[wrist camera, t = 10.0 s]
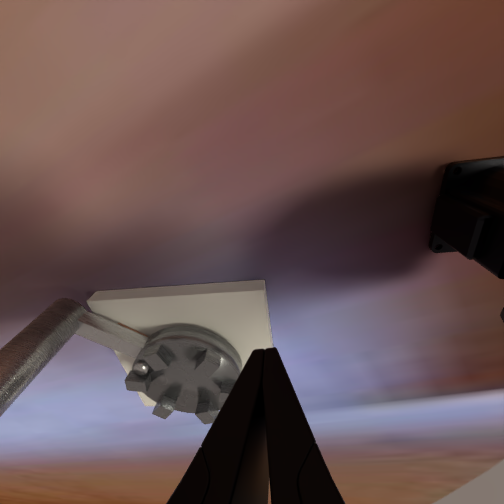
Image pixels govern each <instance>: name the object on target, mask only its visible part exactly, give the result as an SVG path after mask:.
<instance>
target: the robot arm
mask: <svg viewBox="0 0 504 504" xmlns="http://www.w3.org/2000/svg"><path fill="white" fill-rule="evenodd" d="M457 167H458V170H457V172H456V173H454V174H453V171H454V169H455V168H457ZM431 231H432V232H431V237H430V241H429V249H430V250H431V251H433V252H434V253H443V252H457V251H458V252H459V253H461V254H462V255H463V256H465V257H466V258H467V259H469V260H472V259H473V260H475V261H476V262H478V263H479V264H480V265H482V266H483V267H484V268H486V269H487V270H488V271H490V272H491V273H492V274H494V275H495V276H497V277H498V278H499V279H504V156H503V157H495V158H486V159H477V160H469V161H460V162H454V163H451V164H450V165H448V167H447V168H446V170H445V174H444V178H443V183H442V187H441V192H440V196H439V197H438V198H437V202H436V207H435V211H434V216H433V220H432V225H431ZM438 244H439V246H438V247H436V245H438ZM435 247H436V248H435ZM500 316H501V318H502V320H503V322H504V307H503V309H502V312H501V314H500ZM201 446H202V447H200V448H199V450H198V451H197V453H196V455H195V457H194V459H193V461H192V462H191V464H190V466H189V468H188V469H187V471H186V473H185V475H184V476H183V478H182V480H181V481H180V483H179V484H178V486H177V488H176V489H175V491H174V492H173V494H172V495H171V497H170V499H169V500H168V502H167V503H166V504H268V489H269V478H270V491H271V504H345V502H344V500H343V498H342V496H341V494H340V493H339V491H338V489H337V487H336V485H335V483H334V481H333V479H332V477H331V475H330V472H329V470H328V468H327V466H326V464H325V461H324V459H323V457H322V455H321V452H320V450H319V447H318V445H317V444H316V441H315V438H314V436H313V433H312V431H311V429H310V426H309V424H308V422H307V419H306V417H305V414H304V412H303V410H302V407H301V405H300V403H299V400H298V398H297V395H296V393H295V391H294V388H293V386H292V384H291V381H290V379H289V376H288V374H287V372H286V369H285V367H284V365H283V362H282V360H281V357H280V355H279V353H278V350H277V348H275V347H272V348H266V349H263V348H262V349H254V350H253V351H252V353H251V355H250V356H249V358H248V360H247V362H246V364H245V366H244V367H243V369H242V371H241V373H240V375H239V377H238V378H237V380H236V382H235V384H234V386H233V388H232V389H231V391H230V393H229V395H228V397H227V399H226V400H225V402H224V404H223V406H222V408H221V410H220V411H219V413H218V415H217V417H216V419H215V421H214V422H213V424H212V426H211V428H210V430H209V432H208V433H207V435H206V437H205V439H204V441H203V442H202V444H201Z"/></svg>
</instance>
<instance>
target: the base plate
mask: <svg viewBox="0 0 504 504" xmlns="http://www.w3.org/2000/svg"><path fill="white" fill-rule="evenodd" d="M86 302H87V304H88V305H89V307H90V309H91V311H92V312H93V314H95V315H97V316H100V317H102V318H104V319H107V320H109V321H111V322H114V323H116V324H118V325H120V326H123V327H125V328H127V329H130V330H132V331H134V332H137V333H139V334H141V335H143V336H146V337H148V338H149V336H151V335H152V334H153V333H155V332H157V331H159V330H161V329H164V328H168V327H174V326H190V327H196V328H201V329H205V330H208V331H210V332H213V333H215V334H217V335H219V336H221V337H222V338H224V339H225V340H226V341H228V342H229V343H230V344H231V345H232V346H233V347H234V348H235V349H236V350H237V352H238V354H239V355H240V358H241V360H242V369H243V367H244V366H245V364H246V362H247V360H248V358H249V356H250V355H251V353H252V351H253V350H254V349H262V348H263V349H266V348H272V347H273V340H272V333H271V325H270V318H269V310H268V302H267V295H266V287H265V280H251V281H236V282H221V283H207V284H192V285H178V286H163V287H149V288H134V289H120V290H105V291H96V292H95V293H94V294H93V295H92V296H91V297H90V298H89V299H88V300H87V301H86ZM114 352H115V353H116V355H117V357H118V359H119V360H120V362H121V364H122V366H123V368H124V369H125V371H126V373H127V375H128V374H129V372H130V370H131V371H132V366H133V363H134V361H135V358H133V357H130V356H128V355H125V354H123V353H121V352H118V351H116V350H114ZM138 394H139V396H140V398H141V400H142V401H143V403H144V405H145V406H155V405H156V402H155V401H153V400H152V399H150V398H149V397H147V396H146V395H145V394H144V393H143V392H138Z"/></svg>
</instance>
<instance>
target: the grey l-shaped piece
mask: <svg viewBox="0 0 504 504" xmlns="http://www.w3.org/2000/svg"><path fill="white" fill-rule="evenodd" d="M74 334H77V335H79V336H82V337H84V338H87V339H89V340H91V341H94V342H96V343H99V344H101V345H104V346H106V347H108V348H111V349H113V350H116V351H118V352H121V353H123V354H125V355H128V356H130V357H133V358H135V361H134V363H133V366H132V371H131V370H130V372H129V374H128V376H127V377H126V379H125V384H126V388H127V390H130V391H137V392H143V393H144V394H145V395H146V396H147V397H149V398H150V399H152V400H153V401H155V402H156V405H155V408H154V410H153V413H152V414H154V415H156V416H158V417H161V418H163V419H166V418H167V417H168V416H169V415H170V414H171V413H172V412H173V411H174V410H177V411H181V412H187V413H195V415H196V416H197V417H198V418H199V419H200V420H201V421H202V422H203V423H204V424H209V423H213V422H214V421H215V419H216V417H217V415H218V413H219V411H218V410H221V408H222V406H223V404H224V402H225V400H226V399H227V397H228V395H229V393H230V391H231V389H232V388H233V386H234V384H235V382H236V380H237V378H238V377H239V375H240V373H241V371H242V360H241V358H240V355H239V354H238V352H237V350H236V349H235V348H234V347H233V346H232V345H231V344H230V343H229V342H228V341H226V340H225V339H224V338H222V337H221V336H219V335H217V334H215V333H213V332H210V331H208V330H205V329H201V328H196V327H190V326H174V327H168V328H164V329H161V330H159V331H157V332H155V333H153V334H152V335H151V336H149V338H148V337H146V336H143V335H141V334H139V333H137V332H134V331H132V330H130V329H127V328H125V327H123V326H120V325H118V324H116V323H114V322H111V321H109V320H107V319H104V318H102V317H100V316H97V315H95V314H93V313H90V312H88V311H86V309H85V308H84V307H83V306H82V305H81V304H80V303H78V302H76V301H74V300H72V299H68V298H61V299H58V300H56V301H55V302H54V303H53V304H52V305H51V306H49V307H48V308H47V309H46V310H45V311H44V312H43V313H41V314H40V315H39V316H38V317H37V318H36V319H35V320H33V321H32V322H31V323H30V324H29V325H28V326H27V327H25V328H24V329H23V330H22V331H21V332H20V333H19V334H17V335H16V336H15V337H14V338H13V339H12V340H11V341H9V342H8V343H7V344H6V345H5V346H4V347H3V348H1V349H0V417H1V415H2V414H3V413H4V412H5V411H6V410H7V409H8V408H9V407H10V405H11V404H12V403H13V402H14V401H15V400H16V399H17V398H18V396H19V395H20V394H21V393H22V392H23V391H24V390H25V389H26V387H27V386H28V385H29V384H30V383H31V382H32V381H33V380H34V378H35V377H36V376H37V375H38V374H39V373H40V372H41V371H42V370H43V368H44V367H45V366H46V365H47V364H48V363H49V362H50V361H51V359H52V358H53V357H54V356H55V355H56V354H57V353H58V352H59V350H60V349H61V348H62V347H63V346H64V345H65V344H66V343H67V342H68V340H69V339H70V338H71V337H72V336H73V335H74Z"/></svg>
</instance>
